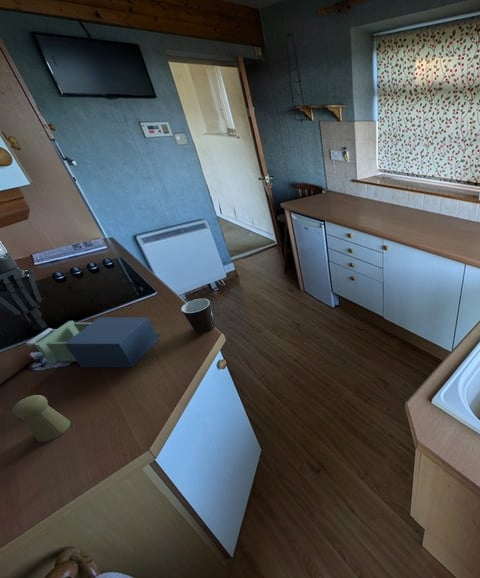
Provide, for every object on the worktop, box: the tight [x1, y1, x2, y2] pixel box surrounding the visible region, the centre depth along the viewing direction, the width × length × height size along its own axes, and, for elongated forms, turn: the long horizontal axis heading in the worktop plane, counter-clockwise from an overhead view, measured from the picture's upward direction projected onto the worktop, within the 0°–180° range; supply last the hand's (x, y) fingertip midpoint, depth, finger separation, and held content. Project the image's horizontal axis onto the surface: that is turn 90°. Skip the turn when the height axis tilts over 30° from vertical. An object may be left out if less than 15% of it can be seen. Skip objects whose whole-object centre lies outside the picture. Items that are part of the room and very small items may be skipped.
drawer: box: [25, 320, 92, 365], centre depth 92 cm, size 20×11×8 cm, turn 91°
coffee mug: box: [181, 298, 215, 335], centre depth 105 cm, size 12×9×10 cm
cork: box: [12, 394, 72, 443], centre depth 69 cm, size 6×6×11 cm
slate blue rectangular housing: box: [65, 316, 160, 368], centre depth 92 cm, size 16×13×10 cm
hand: (40, 327), depth 89 cm, fingers closed
